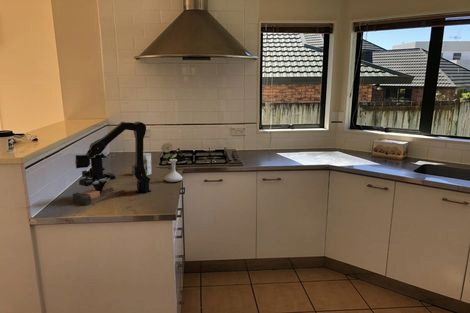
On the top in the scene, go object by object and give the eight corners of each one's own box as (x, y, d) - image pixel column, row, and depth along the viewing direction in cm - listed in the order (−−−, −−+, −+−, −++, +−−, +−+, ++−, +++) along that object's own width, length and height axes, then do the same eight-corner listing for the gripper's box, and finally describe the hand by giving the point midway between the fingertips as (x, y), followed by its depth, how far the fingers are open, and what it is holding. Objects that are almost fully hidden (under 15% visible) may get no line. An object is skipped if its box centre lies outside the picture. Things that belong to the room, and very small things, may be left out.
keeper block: (100, 199, 187) (99, 191, 186) (90, 202, 182) (89, 194, 181) (92, 197, 190) (92, 189, 189) (82, 200, 185) (82, 192, 184)
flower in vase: (182, 178, 231) (181, 140, 226) (183, 183, 220) (182, 143, 215) (162, 178, 229) (161, 140, 224) (161, 183, 218) (160, 143, 213)
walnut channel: (124, 193, 197) (124, 186, 196) (86, 205, 178) (85, 197, 177) (111, 190, 203) (111, 183, 202) (73, 201, 183) (72, 194, 183)
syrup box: (139, 175, 238) (138, 153, 235) (144, 173, 243) (144, 152, 241) (146, 175, 236) (146, 154, 233) (151, 173, 241) (151, 153, 239)
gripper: (102, 161, 199) (104, 188, 202) (71, 167, 183) (74, 196, 186) (115, 164, 193) (116, 191, 196) (84, 170, 177) (86, 200, 181)
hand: (98, 194), depth 190 cm, fingers closed
